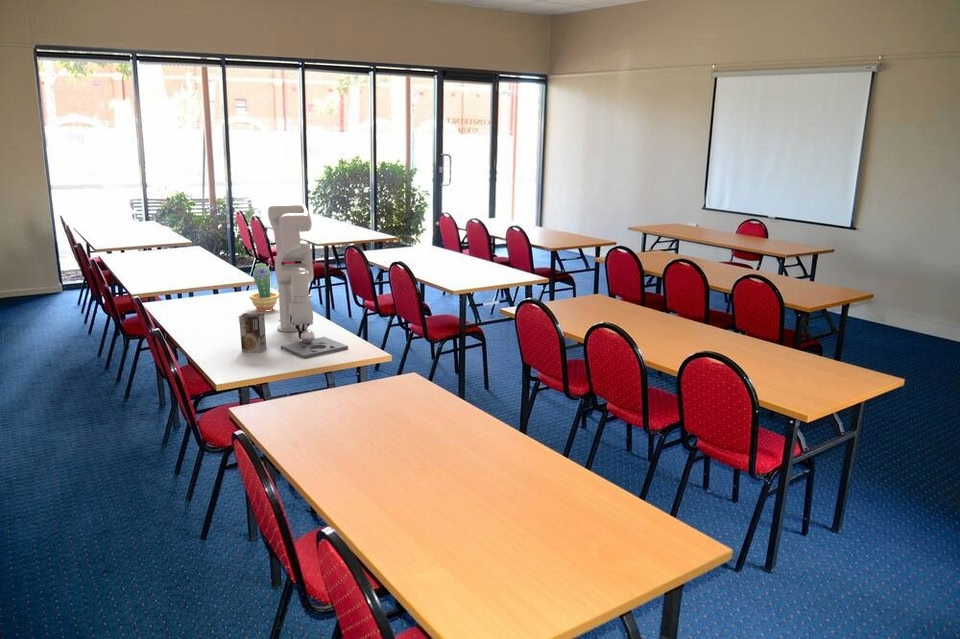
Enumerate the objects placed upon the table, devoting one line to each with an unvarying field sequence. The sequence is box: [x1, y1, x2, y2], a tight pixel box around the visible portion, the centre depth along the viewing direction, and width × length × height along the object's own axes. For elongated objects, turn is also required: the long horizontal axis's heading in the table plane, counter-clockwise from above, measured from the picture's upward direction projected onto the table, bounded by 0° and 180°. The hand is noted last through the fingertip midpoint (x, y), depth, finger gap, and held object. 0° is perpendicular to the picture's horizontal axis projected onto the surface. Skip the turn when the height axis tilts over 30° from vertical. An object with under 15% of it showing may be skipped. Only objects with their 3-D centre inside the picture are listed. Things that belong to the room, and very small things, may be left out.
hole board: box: [280, 336, 349, 360], centre depth 324 cm, size 20×22×2 cm
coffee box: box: [238, 312, 267, 353], centre depth 319 cm, size 9×6×16 cm
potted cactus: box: [248, 263, 279, 311], centre depth 390 cm, size 15×15×25 cm
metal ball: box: [300, 329, 315, 343], centre depth 327 cm, size 6×6×6 cm
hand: (302, 338), depth 330 cm, fingers closed
